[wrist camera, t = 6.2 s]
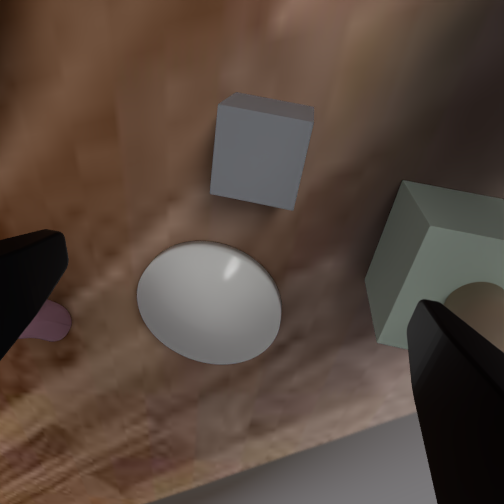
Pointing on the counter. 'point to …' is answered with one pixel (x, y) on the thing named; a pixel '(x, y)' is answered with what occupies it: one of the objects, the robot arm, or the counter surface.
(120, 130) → the counter surface
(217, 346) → the saucer
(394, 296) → the sage camera
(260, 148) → the slate cube
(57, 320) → the video game controller
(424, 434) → the robot arm
